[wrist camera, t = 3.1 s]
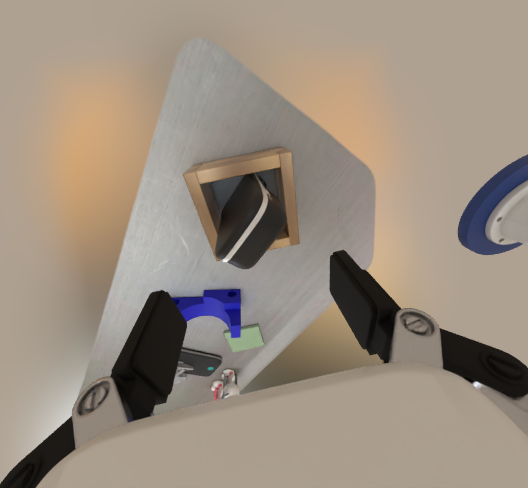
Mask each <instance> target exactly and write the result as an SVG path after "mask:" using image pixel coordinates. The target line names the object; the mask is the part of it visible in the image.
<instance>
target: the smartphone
mask: <svg viewBox="0 0 528 488" xmlns="http://www.w3.org/2000/svg"><path fill="white" fill-rule="evenodd" d="M179 362H183V363H184V364H187V365H190V366H193V370H186V369H184V370H185V371H184V372H183V373H186V374H193V375H199V376H210V375H211V374H212V373H213V372H214V371H215V370H216V369H217V368H218V367H219V366H220V364H221V363H222V359H221V358H220V357H219V356H215V355H210V354H206V353H201V352H196V351H191V350H187V349H181V354H180V358H179ZM177 369H178V368H177ZM181 370H182V369H181ZM181 370H179V371H181ZM179 371H178V372H179Z"/></svg>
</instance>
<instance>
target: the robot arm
mask: <svg viewBox="0 0 528 488" xmlns="http://www.w3.org/2000/svg"><path fill="white" fill-rule="evenodd" d="M485 234H486V236H487V238H488V239H489V240H490V241H492V242H494V243H497V244H501V245H506V244H513V243H517V242H520V243H522V244H525V245H527V246H528V180H526V181H525V182H523V183H522V184H520V185H519V186H517V187H516V188H515V189H513V190H512V191H511V192H509V193H508V194H507V195H506V196H505V197H504V198H503V199H502V200H501V201H500V202H499V203H498V205H497V206H496V207H495V208H494V210H493V211H492V213H491V214H490V216H489V218H488V220H487V223H486V227H485ZM330 292H331V295H332V297H333V298H334V300H335V302H336V304H337V305H338V307H339V309H340V310H341V312H342V314H343V316H344V318H345V319H346V321H347V323H348V325H349V326H350V328H351V330H352V331H353V333H354V335H355V337H356V338H357V340H358V342H359V344H360V345H361V347H362V348H363V349H367V351H368V353H369V355H373V354H378V355H379V357H380V359H382V360H383V362H382V364H378V365H372V366H366V367H361V368H357V369H352V370H347V371H342V372H337V373H333V374H328V375H324V376H320V377H316V378H311V379H306V380H302V381H298V382H293V383H289V384H285V385H280V386H276V387H272V388H267V389H264V390H259V391H254V392H250V393H246V394H242V395H237V396H233V397H229V398H224V399H220V400H216V401H212V402H208V403H203V404H199V405H195V406H191V407H187V408H182V409H178V410H174V411H170V412H166V413H162V414H158V415H154V413H153V410H154V406H155V405H158V404H163V403H166V401H167V397H168V395H169V394H170V393H171V391H172V387H173V383H174V379H175V375H176V370H177V366H178V362H179V358H180V354H181V349H182V345H183V341H184V337H185V333H186V328H187V322H186V320H185V318H184V317H183V315H182V314H181V312H180V311H179V309H178V308H177V306H176V304H175V303H174V301H173V300H172V298H171V297H170V295H169V293H168V292H165V291H163V290H161V291H156V292H152V293H151V294H150V295H149V297H148V299H147V301H146V303H145V305H144V307H143V309H142V311H141V313H140V315H139V317H138V319H137V321H136V323H135V325H134V327H133V329H132V331H131V333H130V335H129V337H128V339H127V341H126V343H125V345H124V347H123V349H122V351H121V353H120V355H119V357H118V359H117V361H116V363H115V365H114V367H113V369H112V374H111V376H110V377H103V378H100V379H98V380H96V381H95V382H93V383H92V384H90V385H89V386H88V387H87V388H86V389H85V390H84V391H83V392H82V394H81V395H80V396H79V397H78V399H77V401H76V402H75V404H74V407H73V409H72V416H71V417H70V418H69V419H68V420H67V421H66V422H65V423H64V424H62V425H61V426H60V427H59V428H58V429H57V430H56V431H54V433H52V434H51V435H50V436H49V437H48V438H47V439H45V440H44V441H43V442H42V443H41V444H40V445H38V446H37V447H36V448H35V449H34V450H33V451H32V452H31V453H30V454H28V455H27V456H26V457H25V458H24V459H23V460H21V461H20V462H19V463H18V464H17V465H16V466H15V467H14V468H13V469H12V470H11V471H10V472H9V474H8V475H7V476H6V477H5V479H4V480H3V481H2V482H1V484H0V488H528V368H527V366H525V365H524V364H523V363H522V362H520V361H519V360H518V359H517V358H515V357H513V356H512V355H510V354H508V353H506V352H503V351H501V350H499V349H496V348H493V347H491V346H488V345H485V344H482V343H479V342H477V341H474V340H471V339H468V338H466V337H463V336H460V335H457V334H454V333H452V332H449V331H446V330H443V329H440V328H439V325H438V324H437V322H436V321H435V320H434V319H433V318H432V317H431V316H430V315H428V314H426V313H425V312H423V311H420V310H417V309H412V308H404V309H401V308H400V307H399V306H398V305H397V304H396V302H395V301H394V300H393V299H392V298H391V297H390V296H389V295H388V294H387V293H386V292H385V290H384V289H383V288H382V287H381V286H380V285H379V284H378V283H377V282H376V281H375V279H374V278H373V277H372V276H371V275H370V274H369V273H368V272H367V271H366V270H362V269H361V268H360V267H359V266H358V265H357V264H356V263H355V261H354V260H353V259H352V258H351V257H350V256H349V255H348V253H347V252H346V251H345V250H341V251H336V252H333V255H331V256H330Z"/></svg>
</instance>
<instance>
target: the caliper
mask: <svg viewBox="0 0 528 488" xmlns="http://www.w3.org/2000/svg"><path fill="white" fill-rule="evenodd" d="M177 368H178V369H177V370H176V375H175V379H174V383H179V382H181V381H184V380H185V379H186V378H187V375H186V373H183V372H184V371H185V370H184V369H186V370H193V366H190V365H187V364H184V363H183V362H178V366H177ZM181 369H182V370H181ZM179 370H181V371H179ZM178 371H179V372H178ZM185 377H186V378H185Z"/></svg>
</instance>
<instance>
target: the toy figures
mask: <svg viewBox="0 0 528 488" xmlns="http://www.w3.org/2000/svg"><path fill="white" fill-rule="evenodd" d="M223 372H224V374H222V378H223V379H224V383H223V381H219V380H217V381H214V382H213V386H212V387H211V390H212V391H215V396H214V401H215V399H216V400H220V399H224V398H229V397H233V396H237V395H239V388H238V386H237V376H236V374H235V375H234V370H230V369H226V370H224V371H223ZM226 379H227V385H226ZM225 385H226V386H225ZM216 394H217V395H216Z"/></svg>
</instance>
